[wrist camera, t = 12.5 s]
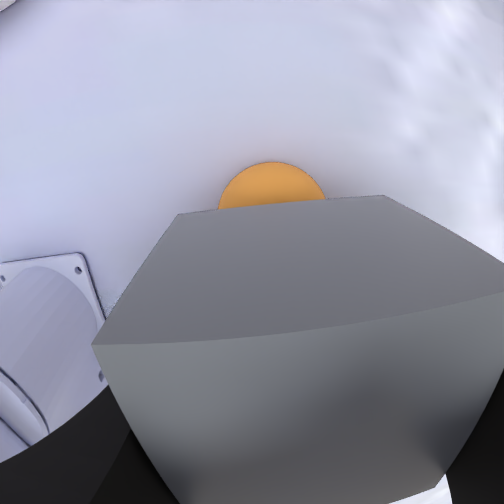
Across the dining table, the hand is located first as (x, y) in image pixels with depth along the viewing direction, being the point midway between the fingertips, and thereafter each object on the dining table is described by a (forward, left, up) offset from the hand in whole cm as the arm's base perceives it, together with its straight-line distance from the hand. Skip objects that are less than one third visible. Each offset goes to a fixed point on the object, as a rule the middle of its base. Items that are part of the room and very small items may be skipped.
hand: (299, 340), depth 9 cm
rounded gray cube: (0, 0, -2) cm, 2 cm away
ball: (+1, 0, -7) cm, 7 cm away
